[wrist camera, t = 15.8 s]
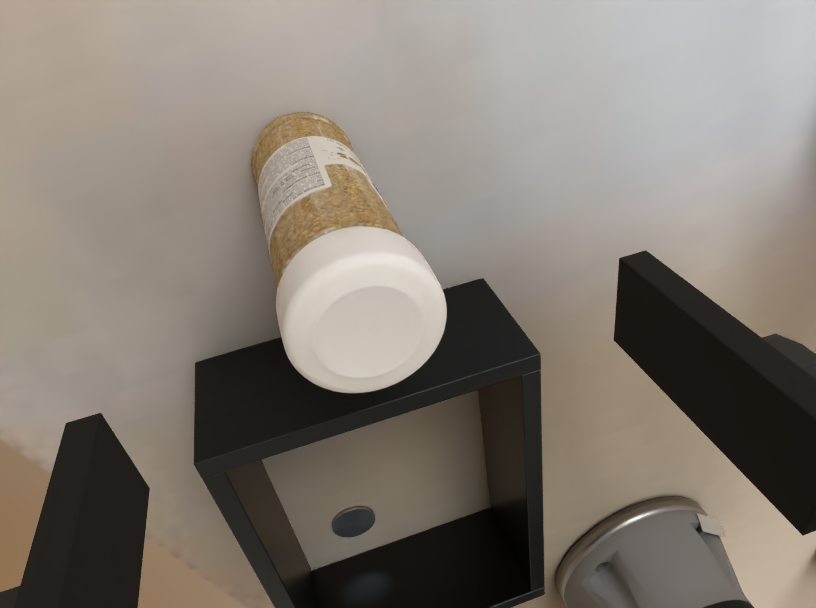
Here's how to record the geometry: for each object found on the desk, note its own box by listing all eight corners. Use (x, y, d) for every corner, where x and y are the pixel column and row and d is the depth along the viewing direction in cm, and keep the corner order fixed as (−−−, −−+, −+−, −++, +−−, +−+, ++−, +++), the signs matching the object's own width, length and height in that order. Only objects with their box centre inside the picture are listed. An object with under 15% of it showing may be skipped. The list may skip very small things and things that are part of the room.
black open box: (503, 510, 46) (545, 594, 40) (301, 582, 43) (316, 682, 38) (483, 277, 33) (540, 353, 27) (194, 362, 30) (193, 464, 25)
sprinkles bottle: (370, 170, 27) (479, 338, 17) (291, 226, 28) (347, 425, 17) (312, 86, 25) (397, 223, 14) (225, 149, 25) (244, 330, 14)
